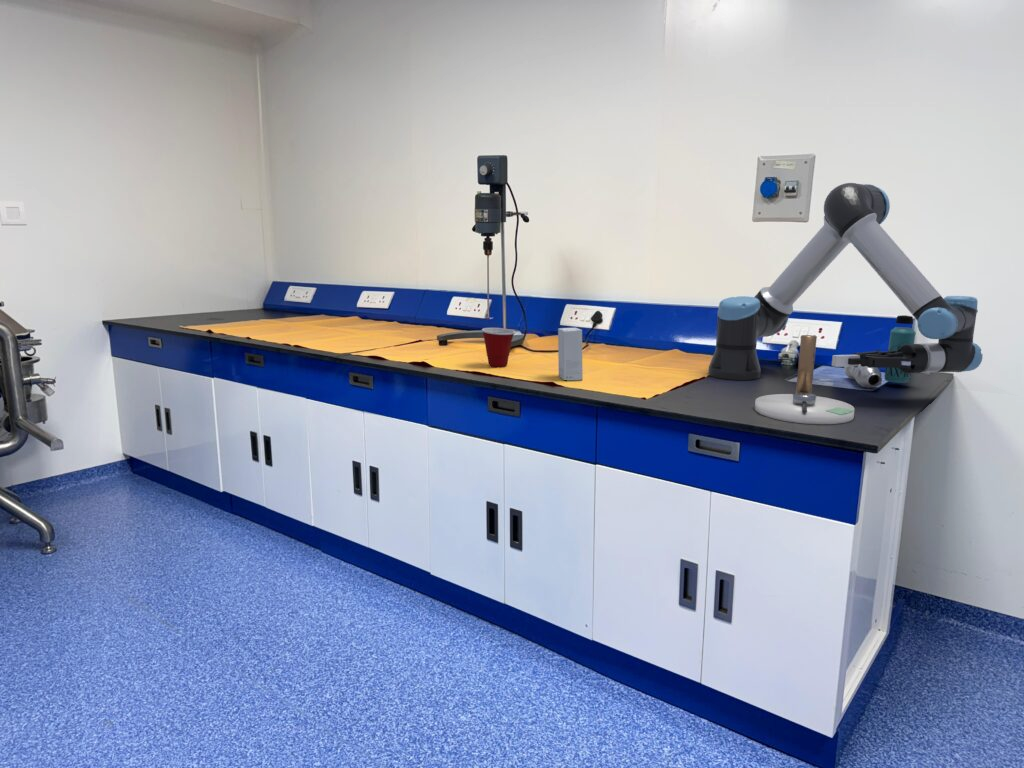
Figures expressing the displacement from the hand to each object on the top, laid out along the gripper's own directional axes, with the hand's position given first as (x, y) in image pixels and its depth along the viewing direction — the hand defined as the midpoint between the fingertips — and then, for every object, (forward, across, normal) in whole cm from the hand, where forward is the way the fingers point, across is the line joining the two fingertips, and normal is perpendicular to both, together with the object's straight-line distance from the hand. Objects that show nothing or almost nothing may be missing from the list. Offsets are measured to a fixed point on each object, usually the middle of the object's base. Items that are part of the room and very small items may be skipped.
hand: (833, 361), depth 175 cm
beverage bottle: (-31, +17, -11) cm, 37 cm away
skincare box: (+58, +40, -10) cm, 71 cm away
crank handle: (+12, -7, -9) cm, 16 cm away
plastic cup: (+77, +62, -10) cm, 99 cm away
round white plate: (+12, -8, -11) cm, 18 cm away
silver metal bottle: (-26, +30, -8) cm, 41 cm away
